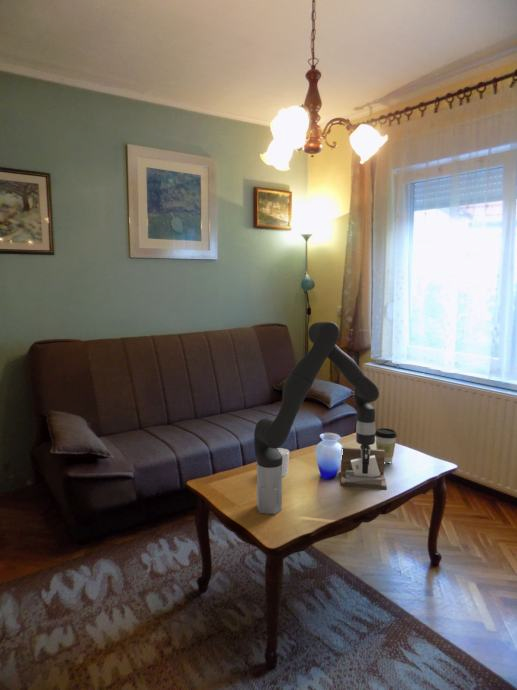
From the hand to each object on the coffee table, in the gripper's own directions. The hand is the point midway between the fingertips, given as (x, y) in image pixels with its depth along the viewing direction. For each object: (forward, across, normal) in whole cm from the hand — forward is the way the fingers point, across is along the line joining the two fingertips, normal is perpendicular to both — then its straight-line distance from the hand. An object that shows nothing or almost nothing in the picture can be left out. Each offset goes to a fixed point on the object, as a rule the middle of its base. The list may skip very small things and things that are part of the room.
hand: (364, 471), depth 184 cm
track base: (+5, +2, +1) cm, 6 cm away
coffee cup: (+5, +24, -10) cm, 27 cm away
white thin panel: (+2, 0, -1) cm, 3 cm away
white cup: (+5, +2, +36) cm, 36 cm away
